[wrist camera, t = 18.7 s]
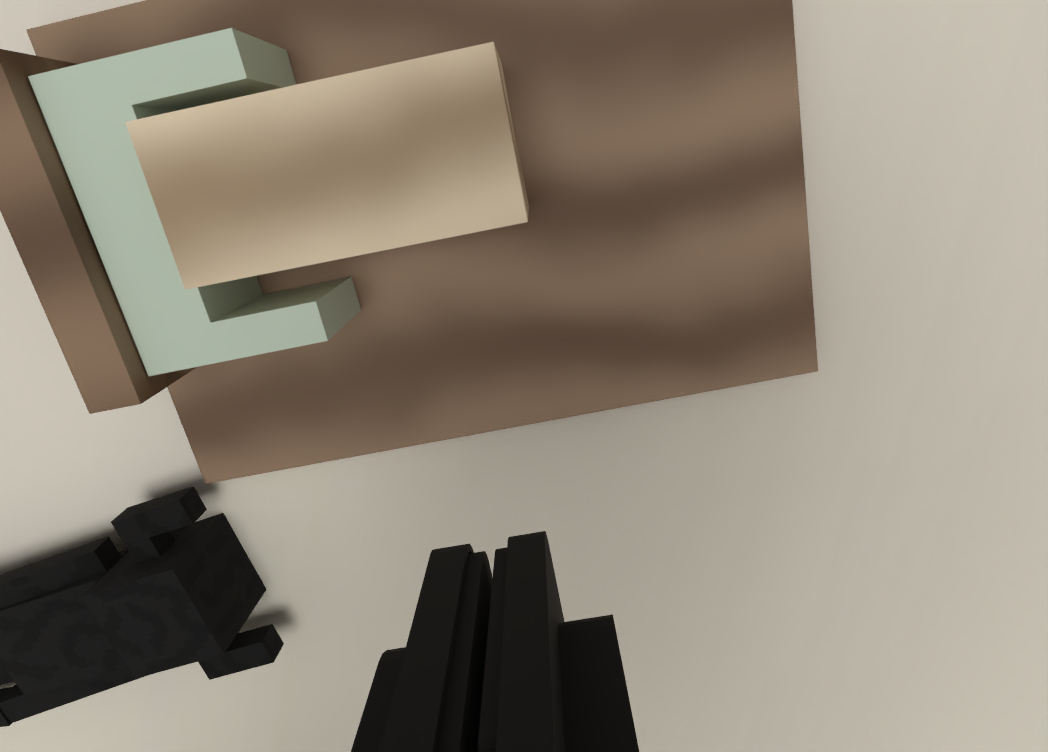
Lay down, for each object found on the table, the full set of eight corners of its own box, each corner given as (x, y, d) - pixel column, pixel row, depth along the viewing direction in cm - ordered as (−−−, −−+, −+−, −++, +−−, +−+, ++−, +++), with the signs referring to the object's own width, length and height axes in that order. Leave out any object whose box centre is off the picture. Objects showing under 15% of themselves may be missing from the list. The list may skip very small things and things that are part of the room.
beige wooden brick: (528, 207, 28) (527, 222, 22) (253, 262, 29) (184, 289, 23) (502, 65, 26) (493, 41, 21) (210, 127, 27) (125, 122, 21)
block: (361, 309, 29) (327, 340, 25) (209, 340, 30) (148, 376, 25) (286, 49, 26) (231, 27, 21) (117, 89, 27) (27, 76, 22)
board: (810, 365, 31) (884, 422, 24) (213, 476, 33) (135, 555, 27) (773, -146, 25) (859, -251, 18) (40, 33, 27) (-116, -4, 20)
